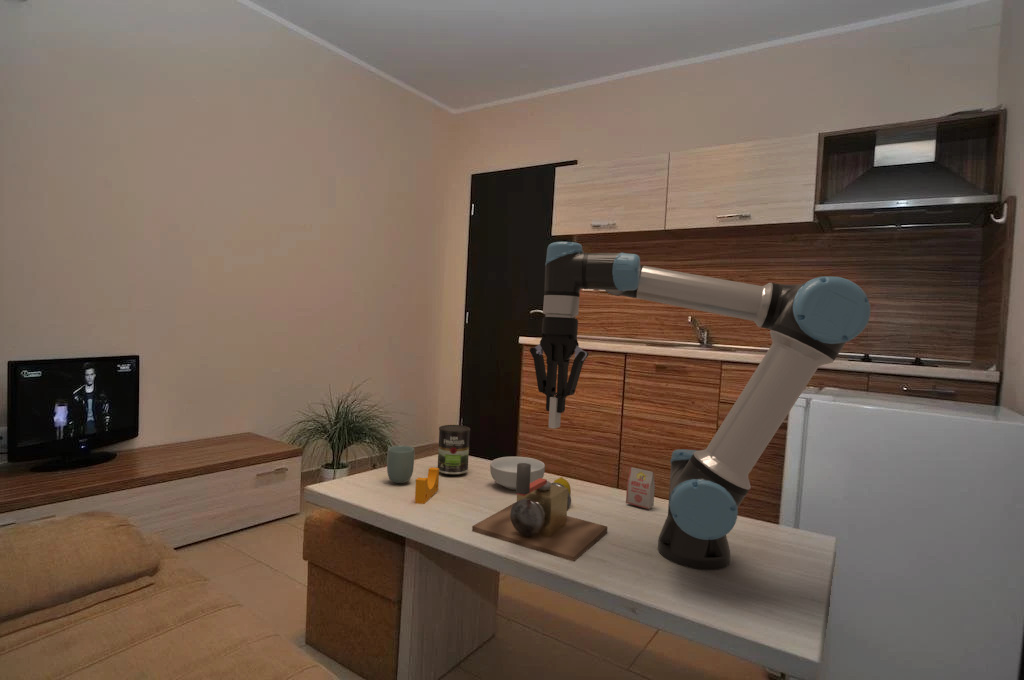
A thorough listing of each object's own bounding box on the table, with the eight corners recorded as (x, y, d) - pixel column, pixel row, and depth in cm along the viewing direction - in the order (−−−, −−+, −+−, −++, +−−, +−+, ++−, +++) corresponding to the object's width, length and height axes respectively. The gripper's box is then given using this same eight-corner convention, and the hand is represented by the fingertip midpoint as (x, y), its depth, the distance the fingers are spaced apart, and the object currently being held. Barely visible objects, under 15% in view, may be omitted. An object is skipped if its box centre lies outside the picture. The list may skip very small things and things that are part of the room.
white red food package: (631, 499, 147) (633, 465, 147) (653, 505, 143) (655, 470, 143) (625, 503, 144) (627, 468, 144) (648, 509, 140) (650, 473, 140)
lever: (539, 484, 123) (541, 453, 123) (553, 487, 121) (554, 455, 121) (511, 499, 111) (513, 464, 111) (526, 503, 110) (527, 468, 109)
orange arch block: (424, 488, 148) (425, 466, 148) (438, 490, 148) (439, 468, 147) (408, 502, 137) (409, 478, 136) (424, 504, 136) (425, 480, 136)
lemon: (567, 511, 136) (569, 481, 135) (547, 507, 137) (549, 478, 137) (571, 504, 141) (573, 476, 141) (552, 501, 143) (554, 473, 142)
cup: (418, 480, 155) (419, 448, 154) (399, 487, 148) (401, 453, 148) (399, 475, 159) (401, 444, 158) (381, 481, 152) (382, 448, 152)
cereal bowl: (500, 474, 165) (501, 453, 165) (549, 482, 160) (550, 460, 160) (480, 490, 149) (482, 466, 149) (535, 499, 144) (536, 474, 143)
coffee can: (468, 475, 163) (470, 431, 162) (436, 474, 162) (438, 430, 162) (468, 465, 173) (470, 425, 173) (438, 465, 172) (440, 424, 172)
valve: (572, 520, 125) (574, 484, 125) (542, 543, 112) (544, 502, 111) (539, 511, 130) (541, 477, 130) (507, 532, 116) (509, 493, 116)
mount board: (607, 532, 123) (607, 526, 123) (573, 564, 106) (573, 557, 105) (515, 507, 136) (515, 502, 136) (472, 532, 119) (472, 526, 119)
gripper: (596, 318, 107) (589, 429, 108) (541, 316, 113) (535, 420, 114) (582, 317, 100) (575, 435, 101) (525, 314, 107) (519, 425, 108)
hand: (554, 427), depth 108 cm, fingers closed
